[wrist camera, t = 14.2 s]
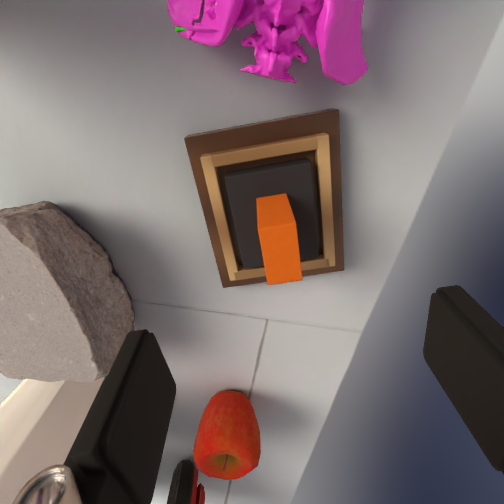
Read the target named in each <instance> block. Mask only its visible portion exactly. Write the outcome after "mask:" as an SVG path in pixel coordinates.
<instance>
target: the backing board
mask: <svg viewBox="0 0 504 504" xmlns="http://www.w3.org/2000/svg"><path fill="white" fill-rule="evenodd" d="M184 139H185V143H186V147H187V151H188V155H189V158H190V162H191V166H192V170H193V174H194V178H195V182H196V185H197V189H198V193H199V197H200V201H201V205H202V208H203V212H204V216H205V220H206V224H207V228H208V232H209V235H210V239H211V243H212V247H213V251H214V255H215V258H216V262H217V266H218V270H219V274H220V278H221V282H222V285H223V288H226V287H233V286H239V285H246V284H253V283H260V282H267V278H266V272H265V267H264V266H259V267H253V268H246V269H244V267H243V262H242V258H241V253H240V248H239V244H238V239H237V234H236V230H235V225H234V220H233V216H232V211H231V206H230V201H229V197H228V192H227V187H226V183H225V175H226V172H228V171H234V170H240V169H245V168H251V167H257V166H263V165H268V164H274V163H280V162H286V161H292V160H297V159H303V158H308V159H309V161H310V162H311V163H312V176H313V189H314V202H315V215H316V228H317V241H318V254H319V257H318V258H313V259H307V260H300V262H301V271H302V276H309V275H316V274H323V273H330V272H336V271H343V270H344V250H343V220H342V190H341V159H340V129H339V110H338V109H334V108H333V109H328V110H322V111H317V112H312V113H306V114H301V115H295V116H290V117H284V118H279V119H274V120H268V121H263V122H257V123H252V124H246V125H241V126H236V127H230V128H225V129H219V130H214V131H208V132H203V133H198V134H192V135H188V136H186V137H185V138H184Z"/></svg>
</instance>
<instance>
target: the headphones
mask: <svg viewBox="0 0 504 504" xmlns="http://www.w3.org/2000/svg"><path fill="white" fill-rule="evenodd" d="M197 481H198V470H197V469H196V467H195V465H194V463H193V462H191V461H181V462H180V463H179V464H178V465H177V467H176V469H175V471H174V473H173V478H172V482H171V486H170V491H169V496H168V500H167V504H204V503H205V492H204V486H203V485H202V484H201V483H200V484H199V485H198V487H197Z"/></svg>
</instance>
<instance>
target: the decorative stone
mask: <svg viewBox="0 0 504 504" xmlns="http://www.w3.org/2000/svg"><path fill="white" fill-rule="evenodd" d="M134 318H135V315H134V311H133V309H132V302H131V297H130V296H129V294H128V292H127V290H126V286H125V285H124V283H123V281H122V280H121V279H120V278H119V276H118V275H117V273H116V272H115V270H114V268H113V264H112V261H111V260H110V257H109V254H108V253H107V252H106V250H105V249H104V247H103V246H102V245H101V244H99V243H98V242H97V241H96V240H95V239H94V238H93V237H92V236H91V234H89V233H88V232H87V231H86V230H84V229H83V228H82V227H81V226H80V225H79V224H78V223H77V222H76V221H75V220H74V219H73V218H72V217H71V216H70V215H69V214H68V213H66V212H64V211H63V210H61V209H60V208H59V207H58V206H56V205H55V204H53V203H51V202H48V201H42V202H39V203H36V204H30V205H26V206H21V207H13V208H5V209H1V210H0V373H1V374H3V375H4V376H6V377H8V378H13V379H33V380H39V381H45V382H55V381H62V380H70V381H75V382H83V383H90V382H93V381H95V380H97V379H100V378H102V377H104V376H106V375H107V374H108V373H109V371H110V369H111V367H112V365H113V363H114V361H115V359H116V356H117V354H118V352H119V350H120V348H121V346H122V344H123V342H124V339H125V337H126V335H127V334H128V332H130V331H134V329H133V321H134Z"/></svg>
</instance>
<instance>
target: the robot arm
mask: <svg viewBox="0 0 504 504" xmlns="http://www.w3.org/2000/svg"><path fill="white" fill-rule="evenodd" d="M423 353H424V358H425V361H426V363H427V364H428V366H429V367H430V369H431V371H432V372H433V374H434V375H435V377H436V378H437V380H438V382H439V383H440V385H441V386H442V388H443V389H444V391H445V393H446V394H447V396H448V397H449V399H450V400H451V402H452V404H453V405H454V407H455V408H456V410H457V412H458V413H459V415H460V416H461V418H462V419H463V421H464V423H465V424H466V426H467V427H468V429H469V430H470V432H471V434H472V435H473V437H474V438H475V440H476V441H477V443H478V444H479V446H480V448H481V449H482V451H483V452H484V454H485V456H486V457H487V459H488V460H489V462H490V463H491V465H492V466H493V467H494V468H495V469H496V470H497V471H502V473H503V474H504V327H503V326H501V325H500V324H499V323H498V322H497V321H496V320H495V319H494V318H493V317H492V316H491V315H490V314H489V313H487V312H486V311H485V310H484V309H483V308H482V307H481V306H480V305H479V304H478V303H477V302H476V301H475V300H474V299H473V298H472V297H471V296H470V295H469V294H468V293H467V292H466V291H465V290H464V289H463V288H461V287H460V286H457V285H455V286H448V287H441V288H438V289H437V290H436V293H433V294H432V295H431V301H430V307H429V314H428V321H427V329H426V336H425V342H424V349H423ZM175 396H176V384H175V381H174V379H173V377H172V374H171V372H170V370H169V367H168V365H167V363H166V361H165V358H164V356H163V354H162V352H161V349H160V347H159V345H158V342H157V340H156V338H155V336H154V334H153V333H149V332H148V330H146V329H144V330H137V331H130V332H128V334H127V335H126V337H125V339H124V342H123V344H122V346H121V348H120V350H119V352H118V354H117V356H116V359H115V361H114V363H113V365H112V367H111V369H110V371H109V374H108V375H107V376H106V377H105V379H104V380H103V382H102V384H101V386H100V388H99V390H98V393H97V395H96V397H95V399H94V401H93V403H92V405H91V407H90V409H89V411H88V413H87V416H86V418H85V420H84V422H83V424H82V426H81V428H80V430H79V432H78V434H77V437H76V439H75V441H74V443H73V445H72V447H71V449H70V451H69V453H68V455H67V458H66V460H65V462H64V464H62V465H53V466H50V467H47V468H45V469H44V470H42V471H40V472H39V473H37V474H36V475H35V476H34V477H32V478H31V479H30V480H29V481H28V482H27V483H26V484H25V485H24V486H23V488H22V489H21V490H20V491H19V493H18V494H17V496H16V498H15V499H14V501H13V503H12V504H150V503H151V501H152V498H153V493H154V489H155V484H156V480H157V475H158V471H159V467H160V462H161V458H162V453H163V449H164V444H165V440H166V436H167V431H168V427H169V422H170V418H171V413H172V409H173V404H174V400H175Z"/></svg>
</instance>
